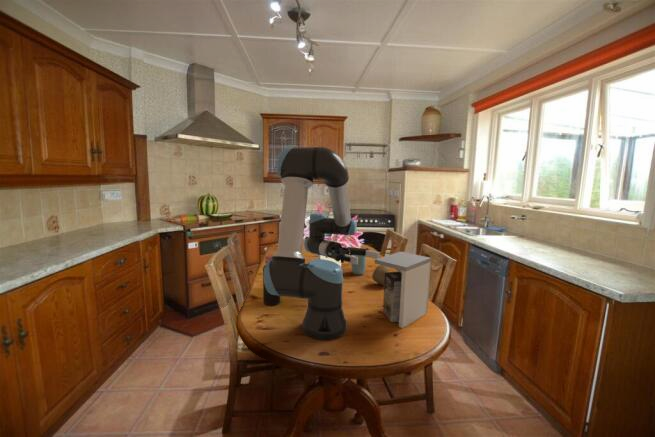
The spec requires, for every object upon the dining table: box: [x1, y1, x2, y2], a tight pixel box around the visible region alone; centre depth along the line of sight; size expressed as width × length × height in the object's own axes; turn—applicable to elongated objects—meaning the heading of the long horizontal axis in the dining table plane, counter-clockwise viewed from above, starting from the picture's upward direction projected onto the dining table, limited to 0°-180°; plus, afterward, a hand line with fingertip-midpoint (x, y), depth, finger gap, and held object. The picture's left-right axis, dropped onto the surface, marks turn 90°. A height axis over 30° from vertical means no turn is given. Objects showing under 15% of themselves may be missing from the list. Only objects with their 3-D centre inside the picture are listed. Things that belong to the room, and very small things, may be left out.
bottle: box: [262, 253, 281, 307], centre depth 123 cm, size 7×7×20 cm
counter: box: [374, 251, 432, 329], centre depth 115 cm, size 18×13×22 cm
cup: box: [350, 255, 367, 276], centre depth 163 cm, size 8×8×10 cm
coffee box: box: [382, 271, 402, 323], centre depth 113 cm, size 9×6×16 cm
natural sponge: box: [371, 264, 392, 286], centre depth 146 cm, size 9×9×10 cm
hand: (368, 258), depth 122 cm, fingers open, 13 cm apart
